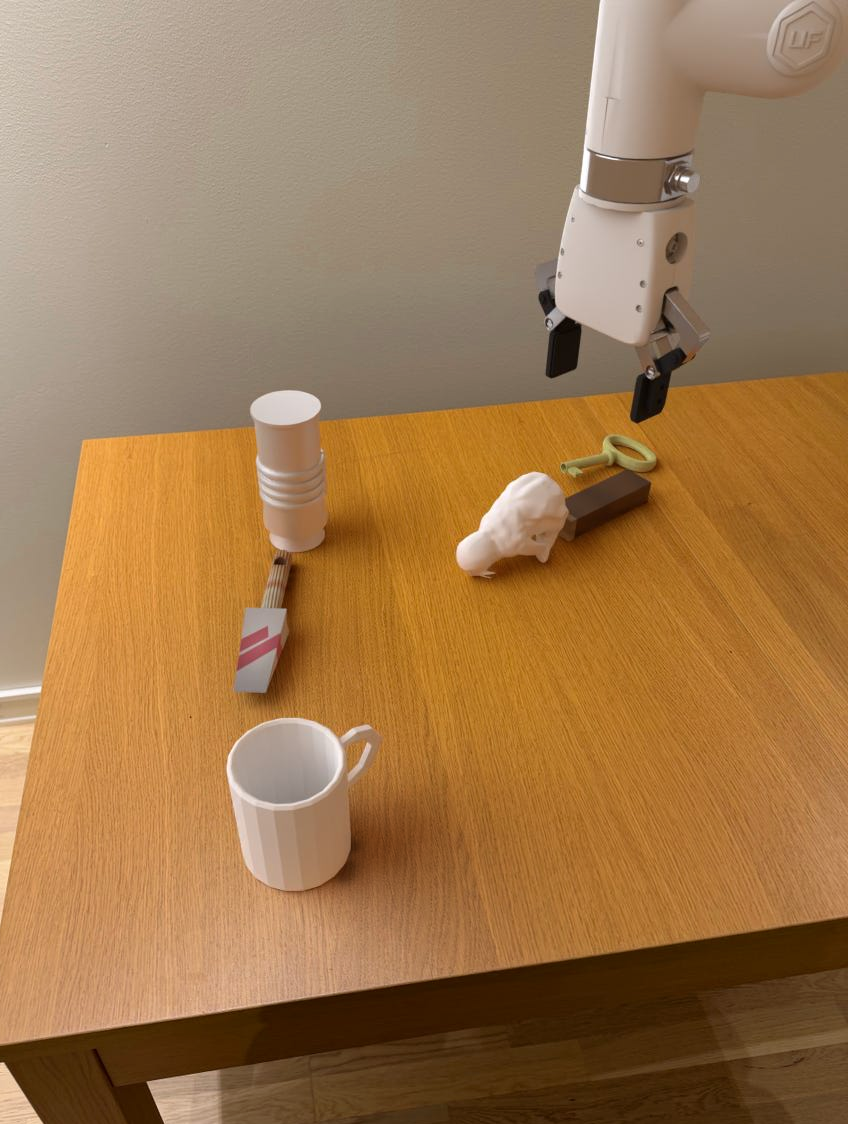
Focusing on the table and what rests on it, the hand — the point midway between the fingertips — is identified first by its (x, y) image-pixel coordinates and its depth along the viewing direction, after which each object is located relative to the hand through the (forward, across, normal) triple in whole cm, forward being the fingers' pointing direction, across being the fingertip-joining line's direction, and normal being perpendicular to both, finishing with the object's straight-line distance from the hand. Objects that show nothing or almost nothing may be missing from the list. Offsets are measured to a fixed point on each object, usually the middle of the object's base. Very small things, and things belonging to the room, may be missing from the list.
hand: (601, 394), depth 77 cm
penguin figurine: (+20, +7, +3) cm, 22 cm away
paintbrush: (+20, +12, +28) cm, 36 cm away
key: (+21, +13, -18) cm, 31 cm away
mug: (+20, -10, +36) cm, 43 cm away
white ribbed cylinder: (+20, +23, +18) cm, 35 cm away
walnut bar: (+20, +7, -10) cm, 24 cm away
